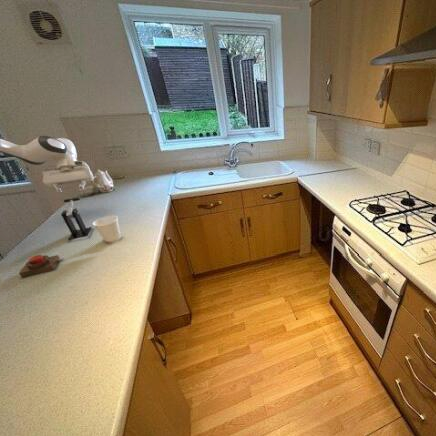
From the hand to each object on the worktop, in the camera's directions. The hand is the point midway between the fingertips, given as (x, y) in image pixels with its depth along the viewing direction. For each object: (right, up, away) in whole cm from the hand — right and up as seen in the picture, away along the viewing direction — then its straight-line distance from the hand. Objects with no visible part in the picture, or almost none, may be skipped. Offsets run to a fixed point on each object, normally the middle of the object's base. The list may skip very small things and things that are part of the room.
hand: (70, 190), depth 124 cm
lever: (+4, -10, -4) cm, 11 cm away
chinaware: (-27, +6, +56) cm, 62 cm away
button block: (+11, -35, -24) cm, 44 cm away
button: (+10, -32, -26) cm, 43 cm away
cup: (+27, -26, -6) cm, 38 cm away
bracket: (+7, -23, -1) cm, 24 cm away
